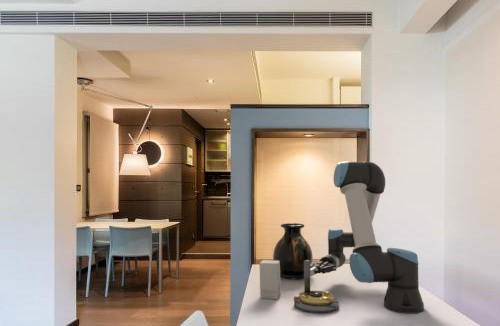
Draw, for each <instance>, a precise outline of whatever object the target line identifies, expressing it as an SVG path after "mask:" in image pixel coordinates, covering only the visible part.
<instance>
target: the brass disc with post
mask: <svg viewBox="0 0 500 326" xmlns="http://www.w3.org/2000/svg"><path fill="white" fill-rule="evenodd" d="M303 286H304V288H303V291H301V292H300V293H299V294H298V296H299V301H300V302H302V303H304V304H307V305H313V306H325V305H330V304H332V303H333V302H334V295H333V294H332V293H331V292H330V291H327V290H326V291H323V290H317V291H318V292H322V296H312V295H310V292H312V291H315V289H314V290H311V276H310V260H304V278H303Z"/></svg>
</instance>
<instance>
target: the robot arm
mask: <svg viewBox="0 0 500 326" xmlns="http://www.w3.org/2000/svg"><path fill="white" fill-rule="evenodd" d="M333 171H334V172H333V184H334V187H335V188H339V190H340V193H341V194H342V195H344V198H345V204H346V207H347V211H348V212H347V213H348V217H349V223H350V227H351V231H350V232H344V230H343V229H342V228H329V229H328V232H327V249H328V251H327V253H328V255H325V256H322V257H321V258H320V259H319V261H317V262H316V263H315V262H311V264H310V277H313V276H315V275H316V274H317V275H318V274H327V273H331V272H335V271H336V272H337V269H339V268H340V267H342V266H343V265H345V263H346V261H347V259H346V258H347V257H346V255H345V253H344V248H352V253H351V254H350V256H349V268H350V271H351V274H352V276H353V277H354V279H355V280H356V281H358V282H359V283H364V284H365V283H366V284H372V283H387V288H386V291H385V294H384V298H383V307H384V308H386V309H388V310H390V311H394V312H396V313H397V312H398V313H403V314H418V313H422V312H424V311H425V303H424V302H423V298H422V296H421V292H420V287H419V258H418V254H417V253H416V252H414V251H412V250H407V249H403V248H395V247H388V248H387V249H386V252H384V251H383V249H382V246H381V245H380V244H378V243H377V241H376V235H375V233H374V227H373V221H374V218H375V215H376V214H375V213H376V211H377V207H378V204H379V201H380V197H381V194H383V193H384V192H385V189H386V176H385V173H384V171H383V169H382V168H381V167H380V166H379V165H378V164H376V163H375V162H372V161H340V162H338V163H337V164H336V166H335V169H334V170H333Z"/></svg>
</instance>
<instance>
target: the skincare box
mask: <svg viewBox="0 0 500 326" xmlns="http://www.w3.org/2000/svg"><path fill="white" fill-rule="evenodd" d="M259 293H260V294H259V295H260V299H267V300H268V299H269V300H279V299H280V297H281V277H280V261H273V260H266V259H265V260H264V259H263V260H261V261H260V262H259Z"/></svg>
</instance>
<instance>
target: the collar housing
mask: <svg viewBox="0 0 500 326" xmlns="http://www.w3.org/2000/svg"><path fill="white" fill-rule="evenodd" d="M311 291H312V292H310V295H312V296H322V292H318V291H319V290H314V291H313V290H311ZM293 303H294V304H293V305H294V307H295V309H297V310H298V311H302V312H304V313H309V314H316V315H318V314H320V315H321V314H331V313H334V312H337V311H338V310H339V309H340V308H339V307H340V301H339V300H338V299H336V298H334V302H333V303H332V304H330V305H325V306H313V305H307V304H304V303H302V302H300V301H299V295H293Z"/></svg>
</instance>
